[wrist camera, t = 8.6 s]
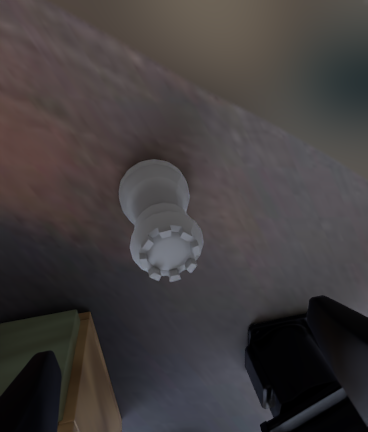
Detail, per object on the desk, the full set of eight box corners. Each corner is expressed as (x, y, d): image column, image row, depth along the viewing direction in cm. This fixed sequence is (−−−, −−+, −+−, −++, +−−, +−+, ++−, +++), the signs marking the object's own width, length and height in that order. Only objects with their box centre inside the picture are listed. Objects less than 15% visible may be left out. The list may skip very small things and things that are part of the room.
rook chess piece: (153, 141, 18) (172, 183, 11) (200, 189, 20) (243, 252, 12) (103, 192, 18) (90, 262, 11) (153, 233, 20) (169, 316, 13)
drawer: (-101, 326, 19) (-212, 449, 13) (72, 295, 20) (49, 392, 14) (-18, 446, 25) (-65, 569, 19) (110, 416, 26) (106, 520, 20)
